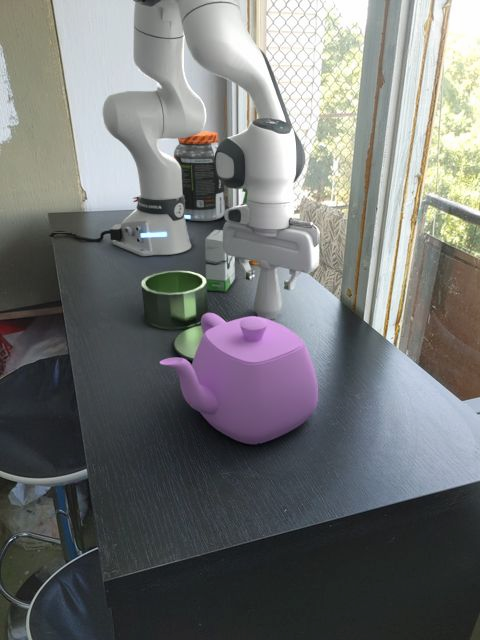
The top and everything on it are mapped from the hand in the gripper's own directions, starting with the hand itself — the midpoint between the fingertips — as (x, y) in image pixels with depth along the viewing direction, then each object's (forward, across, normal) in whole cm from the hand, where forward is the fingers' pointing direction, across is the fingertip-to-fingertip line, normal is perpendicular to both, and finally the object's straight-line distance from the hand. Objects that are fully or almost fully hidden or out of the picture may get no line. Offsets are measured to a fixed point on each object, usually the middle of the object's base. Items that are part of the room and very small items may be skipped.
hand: (268, 284), depth 104 cm
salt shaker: (+7, 0, 0) cm, 7 cm away
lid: (+6, +1, +17) cm, 18 cm away
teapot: (+8, -16, +30) cm, 35 cm away
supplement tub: (+6, +60, -53) cm, 80 cm away
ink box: (+7, +18, -8) cm, 21 cm away
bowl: (+7, +15, +11) cm, 20 cm away
